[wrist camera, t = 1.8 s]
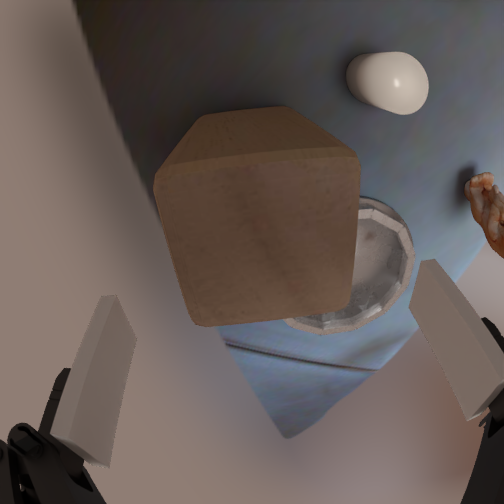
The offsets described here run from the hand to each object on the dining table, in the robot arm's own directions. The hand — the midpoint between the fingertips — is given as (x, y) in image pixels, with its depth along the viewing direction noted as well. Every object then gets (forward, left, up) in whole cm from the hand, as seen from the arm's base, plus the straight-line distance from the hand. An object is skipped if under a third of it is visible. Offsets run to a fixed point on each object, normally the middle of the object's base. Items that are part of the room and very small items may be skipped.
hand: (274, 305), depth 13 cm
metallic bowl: (+17, +11, -23) cm, 31 cm away
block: (0, 0, -24) cm, 24 cm away
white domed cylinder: (-8, +14, -23) cm, 28 cm away
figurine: (+6, +30, -24) cm, 39 cm away
